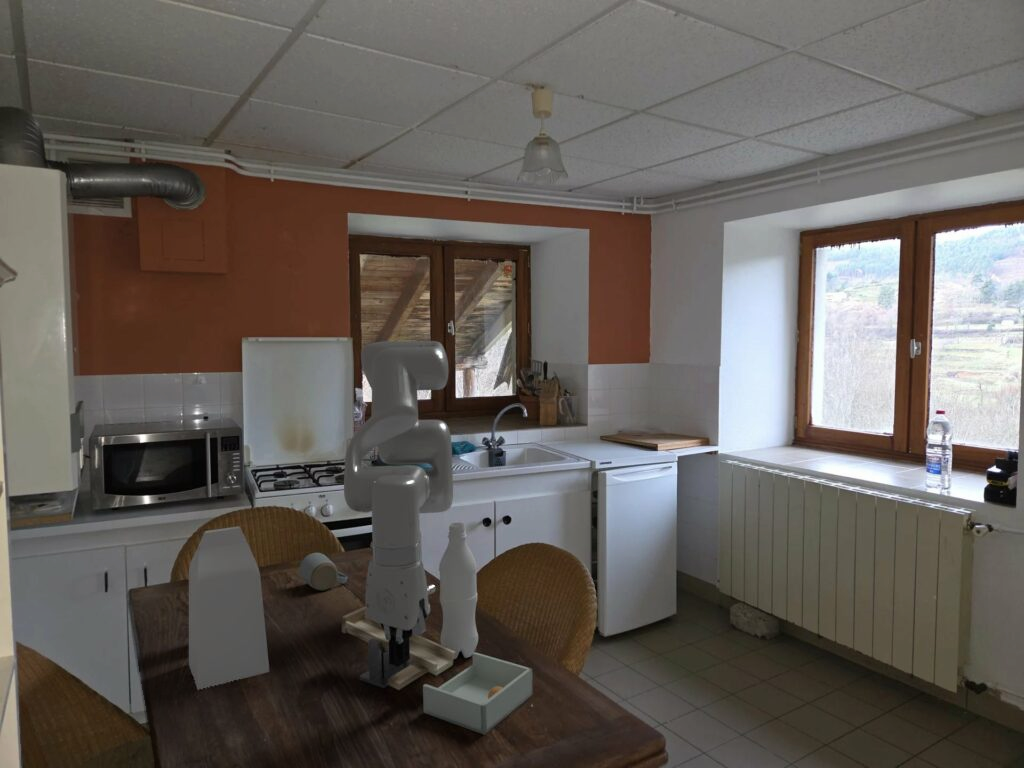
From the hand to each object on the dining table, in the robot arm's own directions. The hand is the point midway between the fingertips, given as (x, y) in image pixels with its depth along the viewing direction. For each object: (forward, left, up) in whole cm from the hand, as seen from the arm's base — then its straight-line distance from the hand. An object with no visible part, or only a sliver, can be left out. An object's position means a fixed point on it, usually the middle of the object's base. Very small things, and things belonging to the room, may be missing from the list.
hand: (399, 661), depth 114 cm
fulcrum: (-7, -9, -8) cm, 14 cm away
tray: (-7, +11, -8) cm, 15 cm away
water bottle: (-20, -3, -8) cm, 22 cm away
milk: (+7, -36, -8) cm, 38 cm away
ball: (-7, +14, -5) cm, 17 cm away
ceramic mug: (-33, -55, -8) cm, 64 cm away
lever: (-4, -8, -2) cm, 9 cm away
